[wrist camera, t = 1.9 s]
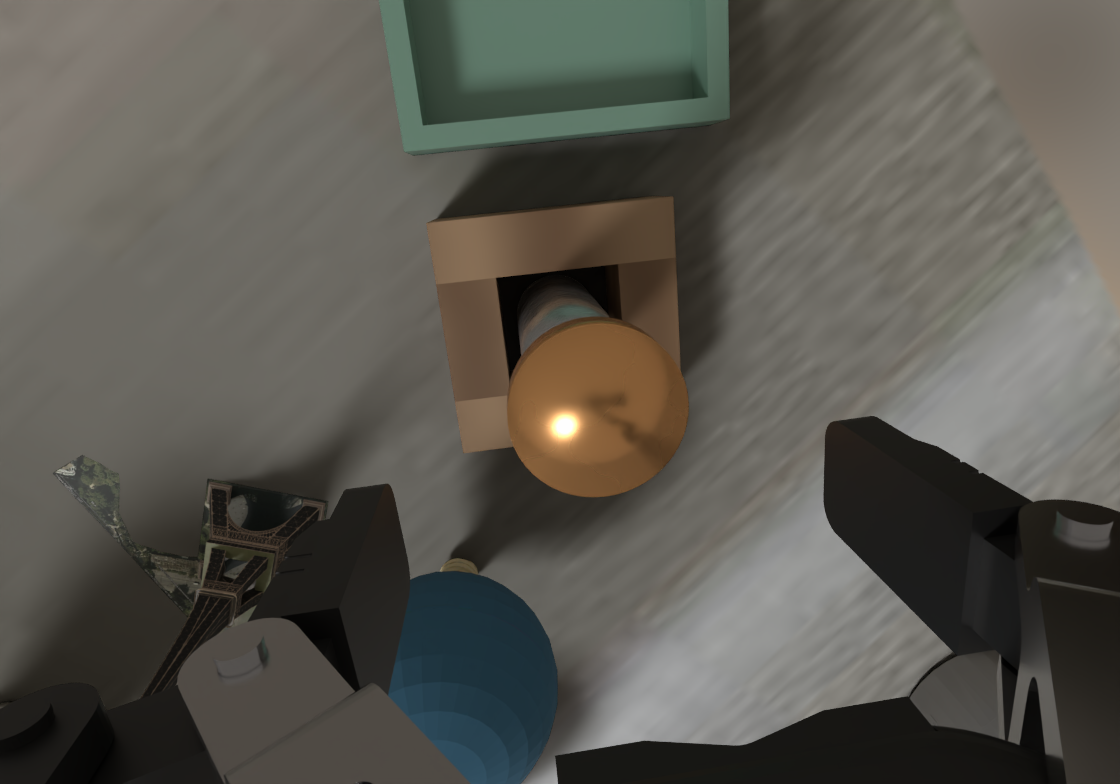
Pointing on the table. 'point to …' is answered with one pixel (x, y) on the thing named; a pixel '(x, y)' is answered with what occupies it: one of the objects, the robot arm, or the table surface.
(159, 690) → the eiffel tower figurine
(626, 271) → the socket block
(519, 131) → the tray
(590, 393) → the pin
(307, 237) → the table surface
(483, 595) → the light bulb
